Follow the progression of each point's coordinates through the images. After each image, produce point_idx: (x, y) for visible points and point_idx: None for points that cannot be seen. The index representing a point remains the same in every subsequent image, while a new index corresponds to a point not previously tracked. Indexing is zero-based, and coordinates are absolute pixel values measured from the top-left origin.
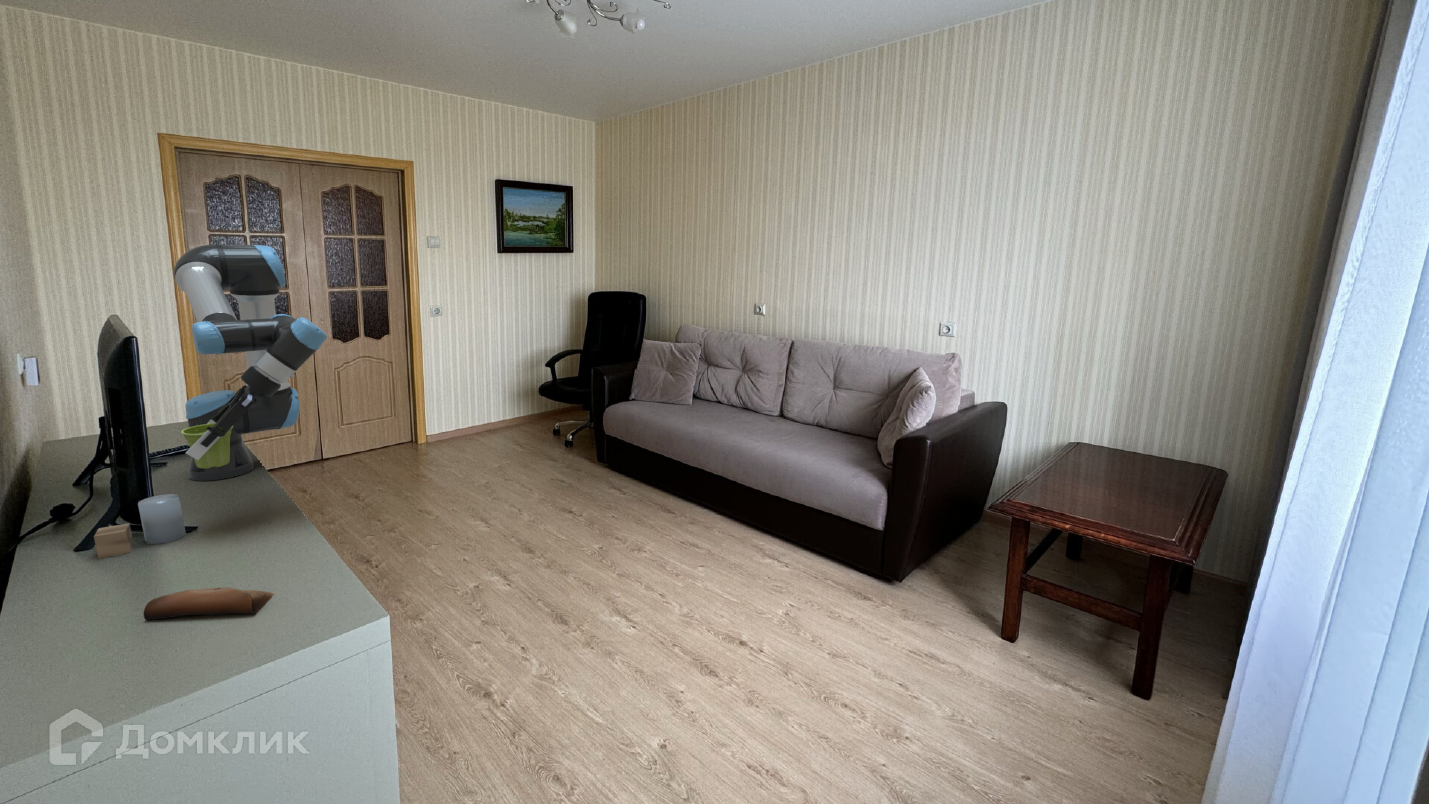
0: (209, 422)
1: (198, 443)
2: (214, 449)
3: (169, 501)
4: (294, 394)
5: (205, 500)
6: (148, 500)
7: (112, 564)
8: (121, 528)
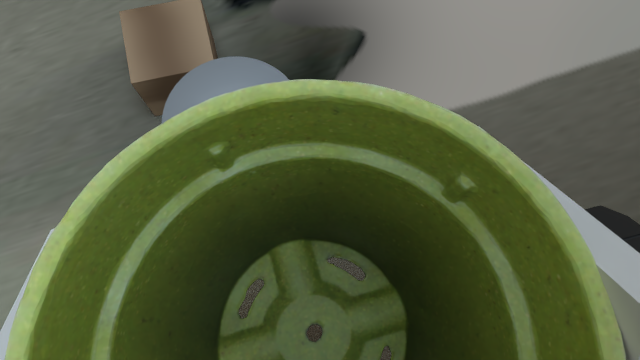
0: (621, 293)
1: None
2: None
3: None
4: None
5: (603, 173)
6: (240, 84)
7: (75, 104)
8: (166, 61)
